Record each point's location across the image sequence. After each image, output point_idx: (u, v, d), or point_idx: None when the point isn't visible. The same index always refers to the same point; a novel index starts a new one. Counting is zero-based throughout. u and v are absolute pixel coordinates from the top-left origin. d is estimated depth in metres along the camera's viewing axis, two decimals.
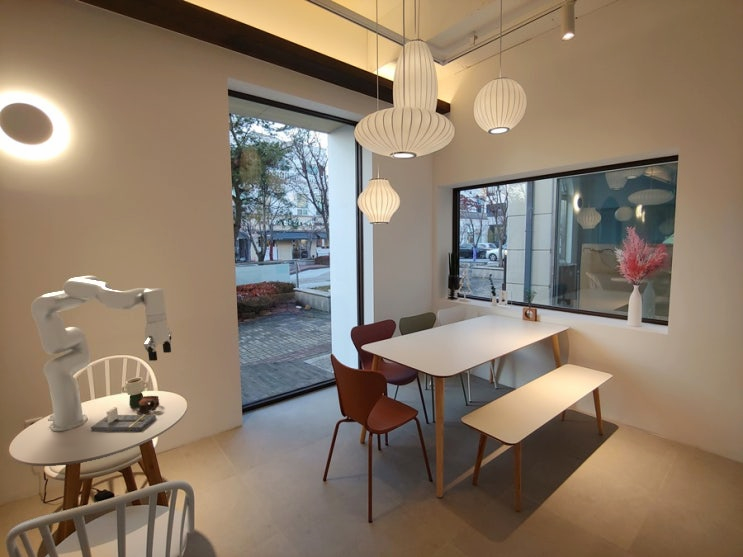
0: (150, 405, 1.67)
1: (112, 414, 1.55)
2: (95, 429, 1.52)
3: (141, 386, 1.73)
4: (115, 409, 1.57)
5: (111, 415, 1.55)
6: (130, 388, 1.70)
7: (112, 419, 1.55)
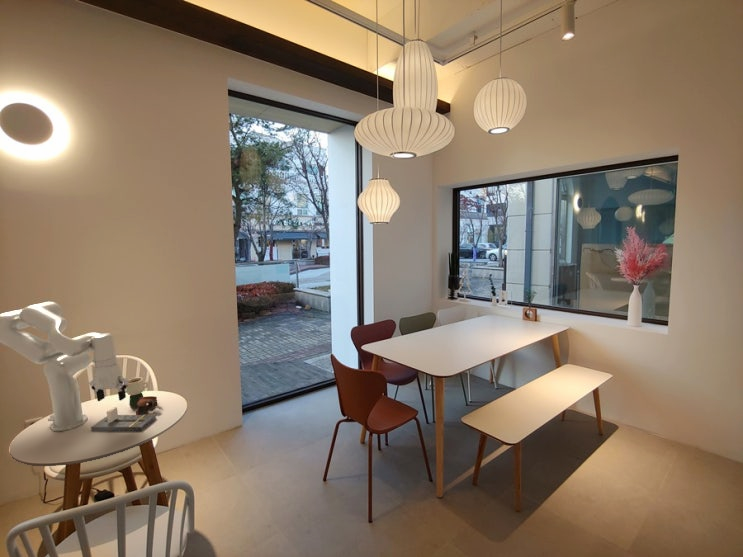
0: (148, 406, 1.66)
1: (112, 414, 1.55)
2: (95, 429, 1.52)
3: (141, 386, 1.73)
4: (115, 409, 1.57)
5: (111, 415, 1.55)
6: (130, 388, 1.70)
7: (112, 419, 1.55)
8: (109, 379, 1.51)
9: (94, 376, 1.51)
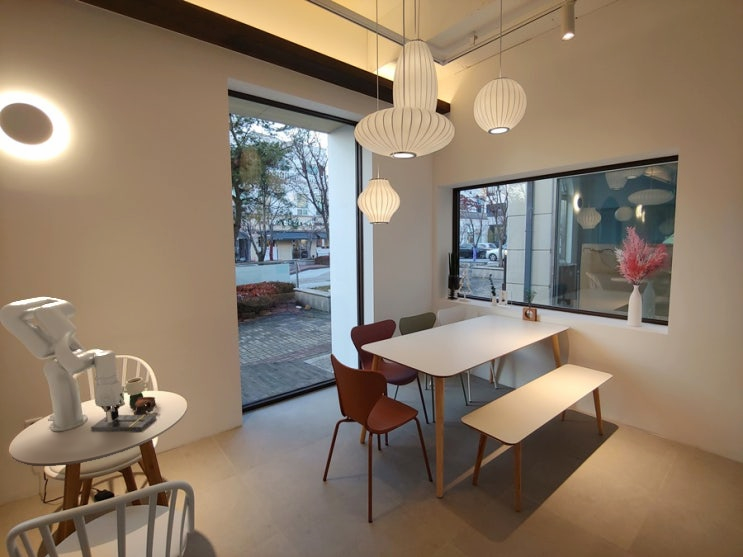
0: (147, 406, 1.66)
1: None
2: (95, 429, 1.52)
3: (141, 386, 1.73)
4: None
5: (111, 415, 1.55)
6: (130, 388, 1.70)
7: None
8: (110, 396, 1.52)
9: (96, 393, 1.52)
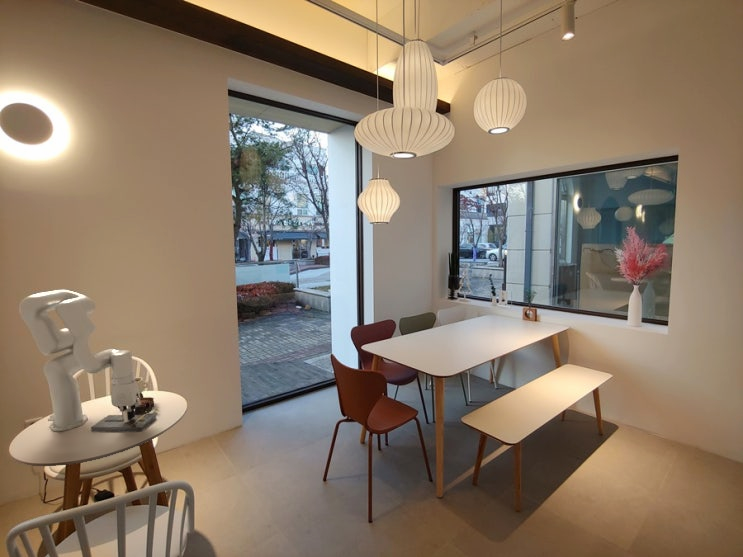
0: (145, 407, 1.65)
1: None
2: (95, 429, 1.52)
3: (141, 386, 1.73)
4: None
5: (127, 415, 1.54)
6: None
7: None
8: (127, 396, 1.52)
9: (112, 393, 1.52)
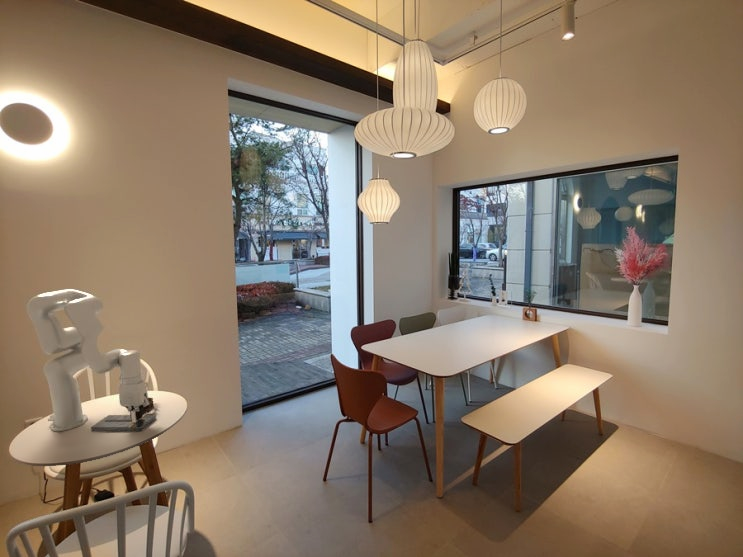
0: (145, 407, 1.65)
1: None
2: (95, 429, 1.52)
3: None
4: None
5: (135, 415, 1.54)
6: None
7: None
8: (135, 396, 1.52)
9: (120, 393, 1.52)
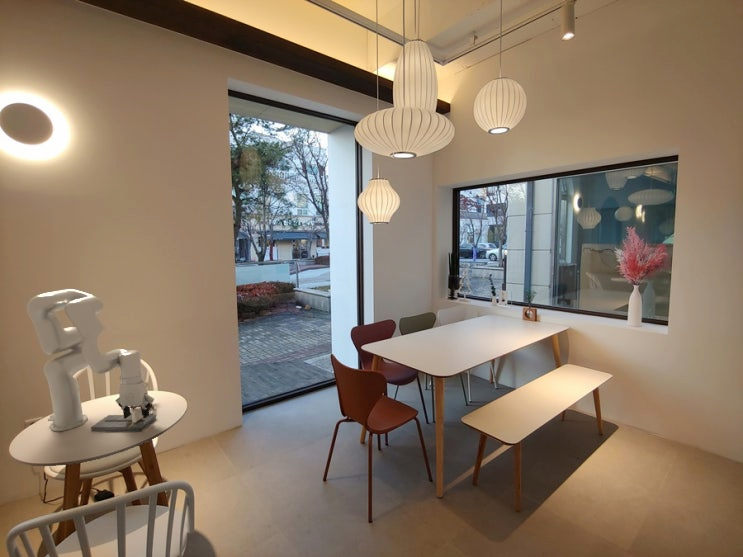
0: None
1: (136, 414, 1.55)
2: (95, 429, 1.52)
3: None
4: (139, 409, 1.57)
5: (135, 415, 1.54)
6: None
7: (136, 419, 1.55)
8: (135, 396, 1.52)
9: (120, 393, 1.52)
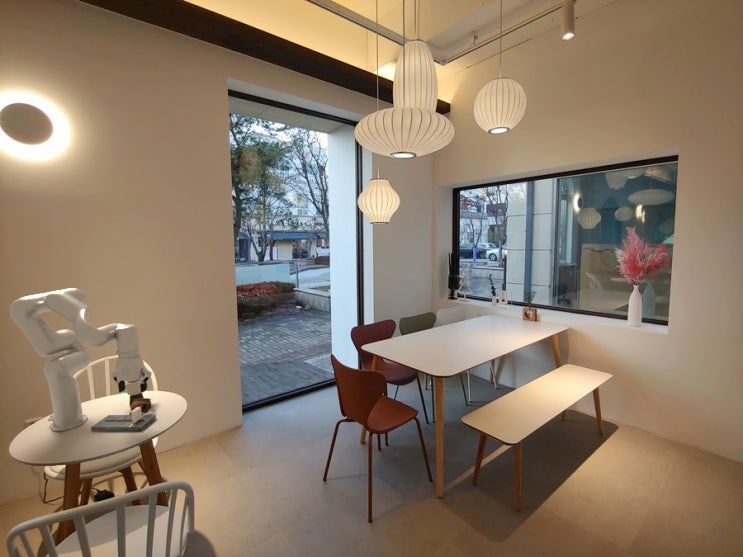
0: (142, 408, 1.64)
1: (136, 414, 1.55)
2: (95, 429, 1.52)
3: None
4: (139, 409, 1.57)
5: (135, 415, 1.54)
6: (130, 388, 1.70)
7: (136, 419, 1.55)
8: (132, 371, 1.50)
9: (117, 367, 1.50)
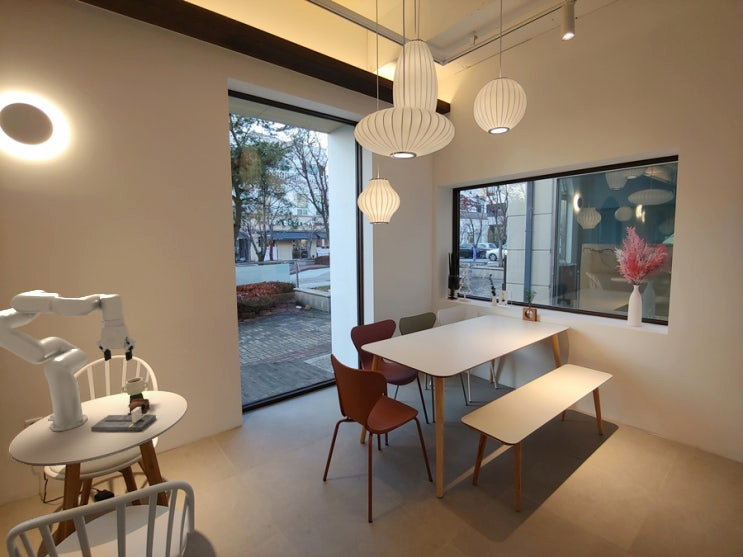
0: (141, 408, 1.64)
1: (136, 414, 1.55)
2: (95, 429, 1.52)
3: (141, 386, 1.73)
4: (139, 409, 1.57)
5: (135, 415, 1.54)
6: (130, 388, 1.70)
7: (136, 419, 1.55)
8: (117, 339, 1.54)
9: (102, 336, 1.54)
